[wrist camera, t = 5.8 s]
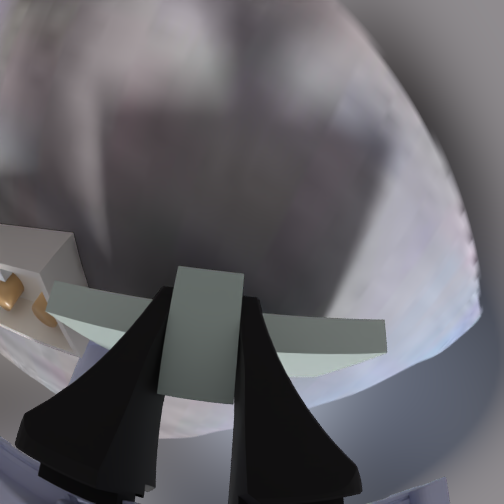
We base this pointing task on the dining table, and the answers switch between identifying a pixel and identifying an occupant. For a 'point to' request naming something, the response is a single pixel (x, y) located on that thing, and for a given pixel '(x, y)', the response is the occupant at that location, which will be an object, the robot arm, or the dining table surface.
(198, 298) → the lid
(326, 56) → the dining table surface
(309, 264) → the dining table surface
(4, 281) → the tub
